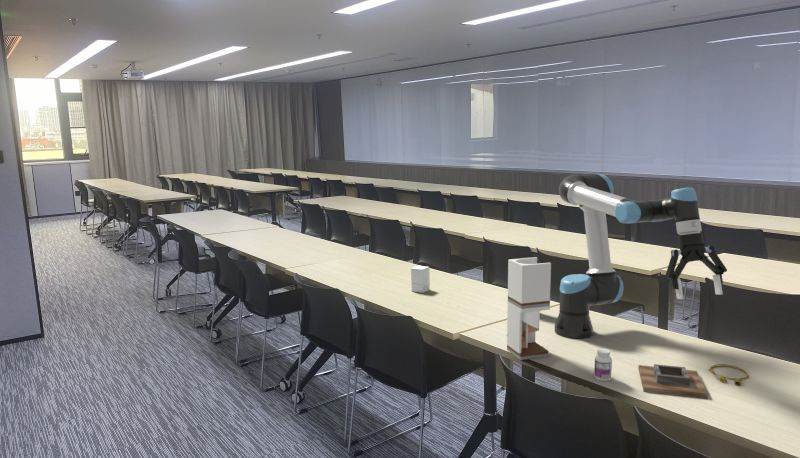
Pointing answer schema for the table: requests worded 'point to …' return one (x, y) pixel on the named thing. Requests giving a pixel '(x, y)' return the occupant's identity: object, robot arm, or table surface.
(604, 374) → the pill bottle
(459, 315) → the table surface
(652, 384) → the socket block
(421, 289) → the supplement box
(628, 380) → the table surface
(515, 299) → the white notched tower
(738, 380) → the gold torc necklace
